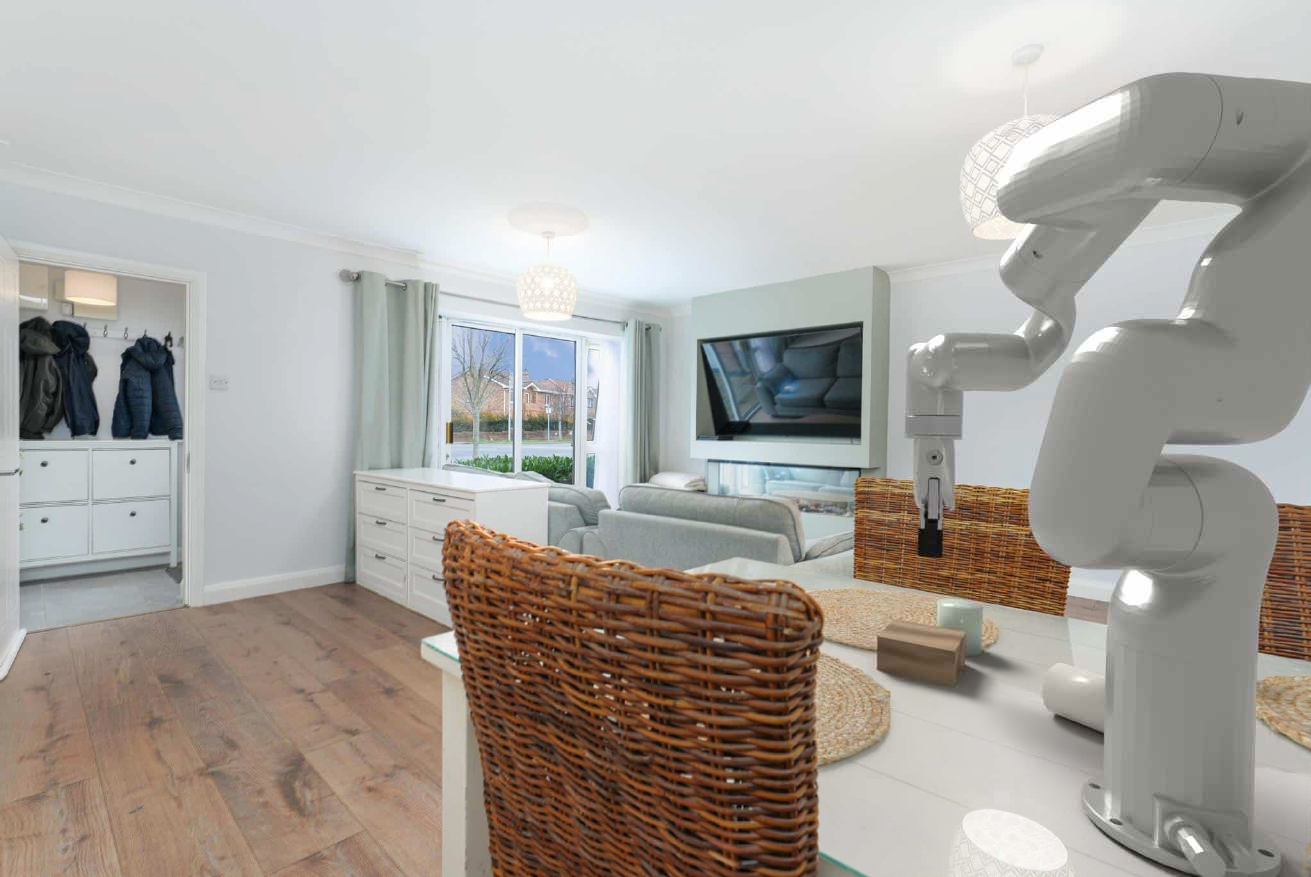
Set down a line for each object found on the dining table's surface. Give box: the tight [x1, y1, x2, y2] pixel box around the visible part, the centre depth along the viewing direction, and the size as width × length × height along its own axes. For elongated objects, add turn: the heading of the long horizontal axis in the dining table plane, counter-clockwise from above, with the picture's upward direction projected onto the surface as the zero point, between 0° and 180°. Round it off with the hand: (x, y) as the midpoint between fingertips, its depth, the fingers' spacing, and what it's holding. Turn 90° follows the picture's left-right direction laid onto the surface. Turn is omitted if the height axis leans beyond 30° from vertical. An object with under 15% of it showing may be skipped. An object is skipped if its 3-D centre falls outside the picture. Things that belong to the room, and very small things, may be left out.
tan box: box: [876, 618, 966, 688], centre depth 87 cm, size 10×10×5 cm
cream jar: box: [1041, 662, 1106, 734], centre depth 69 cm, size 6×6×9 cm
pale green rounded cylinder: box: [936, 598, 984, 657], centre depth 95 cm, size 6×6×7 cm
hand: (929, 556), depth 87 cm, fingers closed
